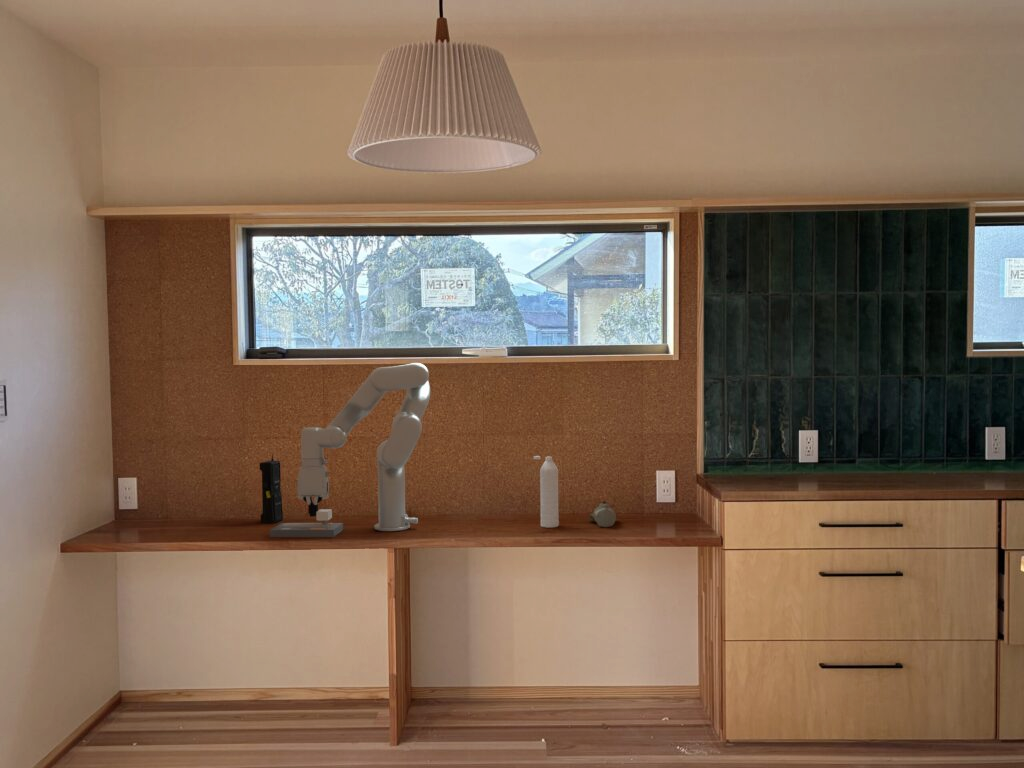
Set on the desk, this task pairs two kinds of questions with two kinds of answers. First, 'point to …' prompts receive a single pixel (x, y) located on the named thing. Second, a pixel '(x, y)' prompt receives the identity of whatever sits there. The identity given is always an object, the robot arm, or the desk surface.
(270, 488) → the portable radio
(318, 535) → the fader console
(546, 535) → the desk surface
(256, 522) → the desk surface
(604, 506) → the ceramic sculpture
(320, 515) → the fader knob
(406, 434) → the robot arm
